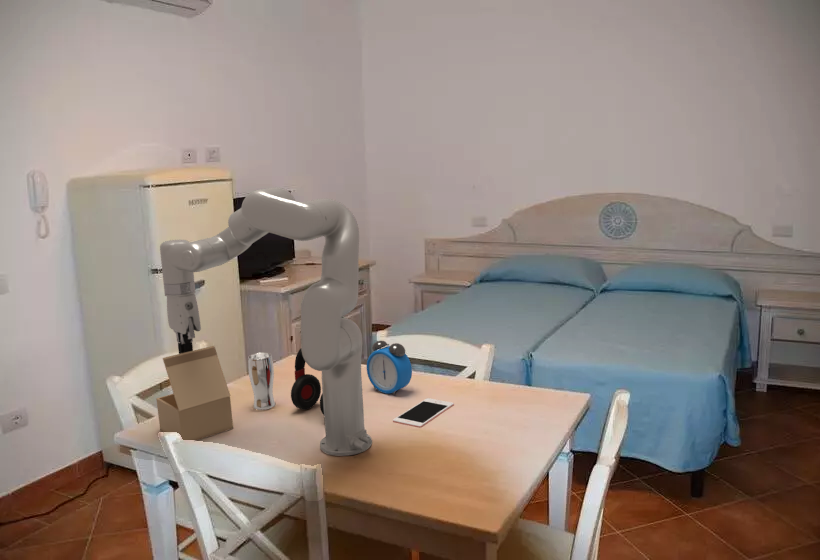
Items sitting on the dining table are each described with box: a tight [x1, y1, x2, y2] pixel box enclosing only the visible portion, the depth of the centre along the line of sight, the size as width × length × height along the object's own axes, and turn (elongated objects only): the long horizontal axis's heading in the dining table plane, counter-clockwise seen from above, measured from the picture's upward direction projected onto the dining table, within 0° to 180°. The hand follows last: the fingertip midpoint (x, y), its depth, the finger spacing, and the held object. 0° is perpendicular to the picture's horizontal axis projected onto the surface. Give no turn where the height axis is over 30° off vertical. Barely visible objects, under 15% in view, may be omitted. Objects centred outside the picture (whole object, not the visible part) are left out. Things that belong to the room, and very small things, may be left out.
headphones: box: [290, 347, 324, 416], centre depth 189 cm, size 18×10×20 cm, turn 48°
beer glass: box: [247, 352, 276, 411], centre depth 197 cm, size 7×7×15 cm
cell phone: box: [392, 397, 455, 428], centre depth 188 cm, size 9×18×1 cm, turn 147°
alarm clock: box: [366, 340, 413, 396], centre depth 204 cm, size 13×6×15 cm, turn 51°
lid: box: [162, 345, 231, 411], centre depth 178 cm, size 14×14×1 cm
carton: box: [155, 393, 234, 441], centre depth 183 cm, size 14×14×9 cm
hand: (186, 357), depth 181 cm, fingers closed
